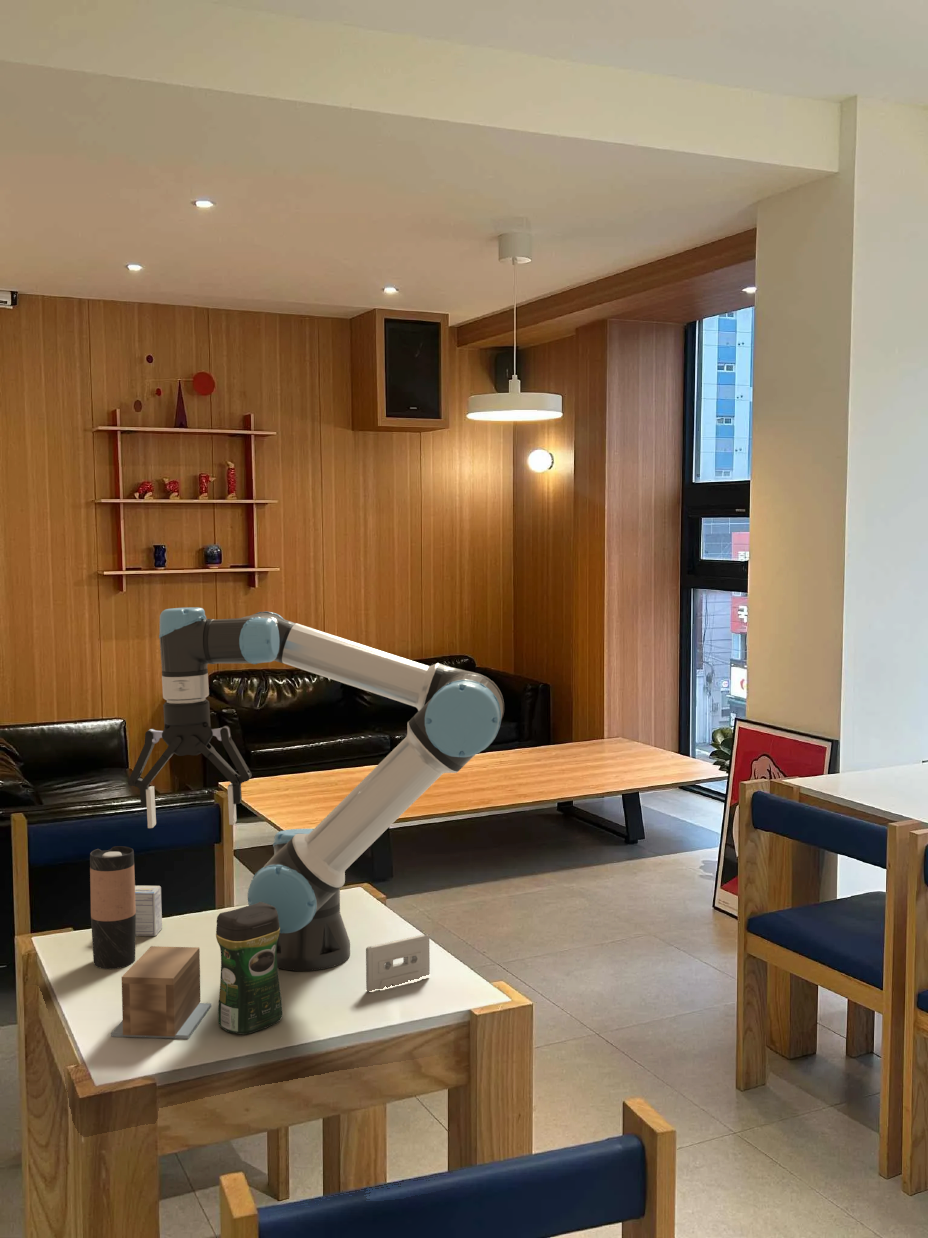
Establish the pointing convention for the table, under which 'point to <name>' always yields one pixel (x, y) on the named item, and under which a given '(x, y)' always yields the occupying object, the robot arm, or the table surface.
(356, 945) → the table surface
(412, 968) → the cassette
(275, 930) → the coffee jar
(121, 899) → the travel mug
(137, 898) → the medicine box
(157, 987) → the tan rectangular box
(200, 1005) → the slate mat
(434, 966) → the table surface
